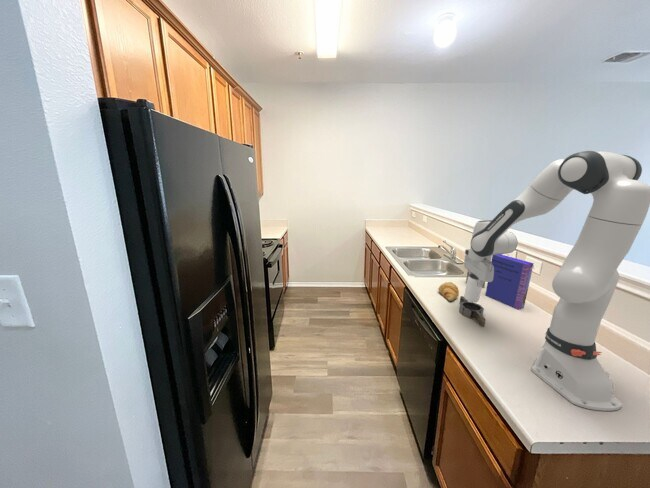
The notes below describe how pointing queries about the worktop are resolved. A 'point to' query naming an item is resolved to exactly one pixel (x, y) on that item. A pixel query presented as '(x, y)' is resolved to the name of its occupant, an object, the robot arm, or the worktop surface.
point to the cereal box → (509, 281)
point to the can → (472, 289)
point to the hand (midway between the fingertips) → (475, 283)
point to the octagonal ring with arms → (477, 316)
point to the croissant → (449, 291)
